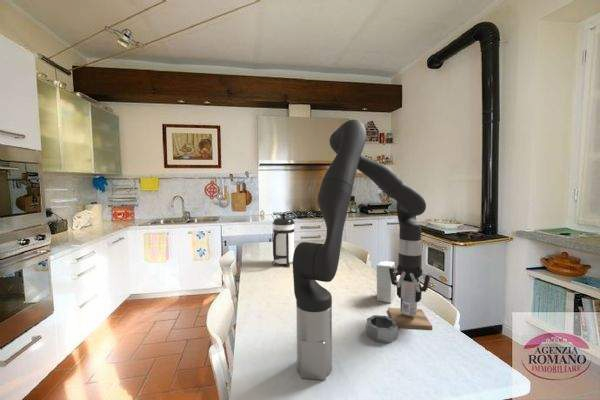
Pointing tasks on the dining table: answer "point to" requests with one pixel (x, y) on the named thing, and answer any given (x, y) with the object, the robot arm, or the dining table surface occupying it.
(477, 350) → the dining table surface
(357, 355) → the dining table surface
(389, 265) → the skincare box
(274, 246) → the coffee press
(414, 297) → the energy drink
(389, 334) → the metal collar
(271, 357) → the dining table surface
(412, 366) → the dining table surface
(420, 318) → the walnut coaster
